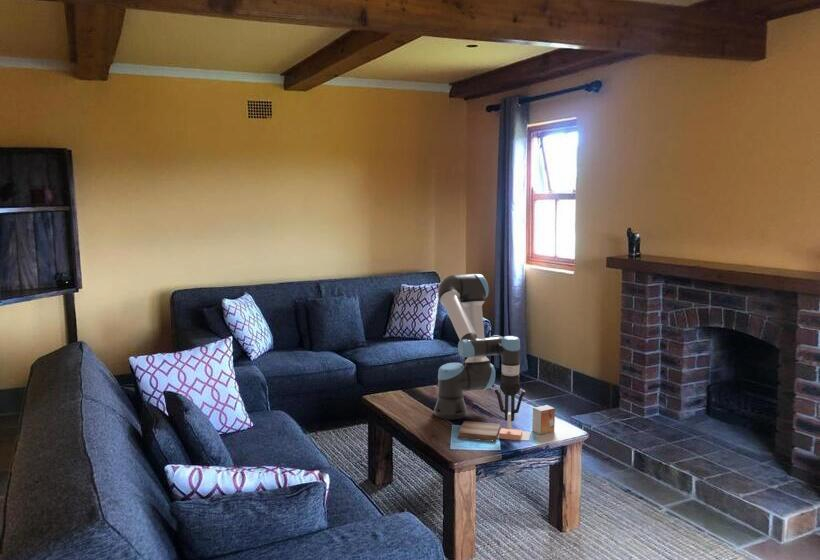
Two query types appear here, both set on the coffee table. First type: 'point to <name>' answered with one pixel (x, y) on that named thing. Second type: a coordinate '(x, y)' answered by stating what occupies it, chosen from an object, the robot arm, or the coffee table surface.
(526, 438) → the mat
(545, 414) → the small box
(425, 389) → the coffee table surface
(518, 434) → the salmon flat rectangular block
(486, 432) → the board
